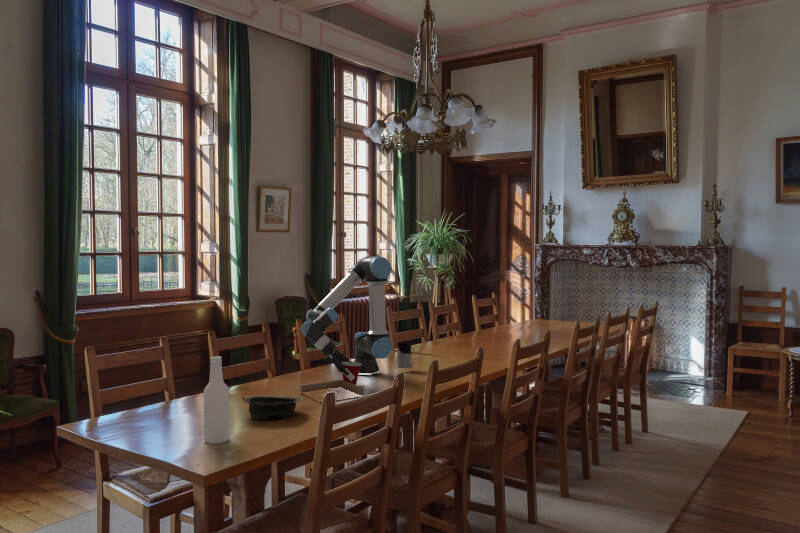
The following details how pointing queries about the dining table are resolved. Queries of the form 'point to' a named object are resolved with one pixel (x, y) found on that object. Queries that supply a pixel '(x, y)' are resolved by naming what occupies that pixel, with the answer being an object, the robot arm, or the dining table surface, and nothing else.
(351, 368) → the plastic cup
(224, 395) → the alcohol
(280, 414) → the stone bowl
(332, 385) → the tray
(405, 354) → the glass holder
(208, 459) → the dining table surface
